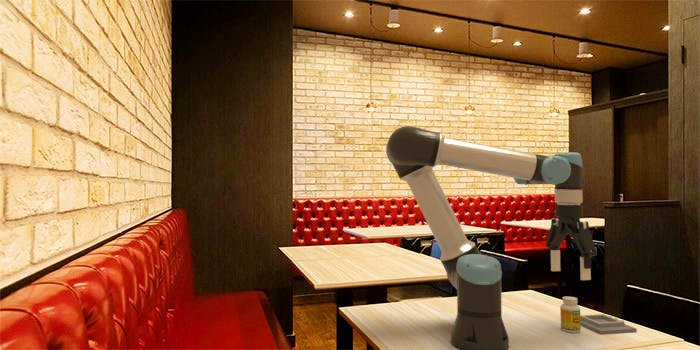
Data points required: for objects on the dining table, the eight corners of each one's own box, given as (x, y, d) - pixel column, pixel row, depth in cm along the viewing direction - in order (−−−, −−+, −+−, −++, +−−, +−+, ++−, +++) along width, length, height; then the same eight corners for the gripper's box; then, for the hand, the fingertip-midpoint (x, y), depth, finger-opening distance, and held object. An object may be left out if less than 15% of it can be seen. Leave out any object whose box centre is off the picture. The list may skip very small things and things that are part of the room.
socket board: (600, 334, 131) (600, 326, 131) (569, 320, 145) (568, 313, 145) (636, 332, 134) (636, 324, 134) (602, 318, 147) (602, 311, 147)
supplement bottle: (567, 326, 139) (566, 295, 139) (584, 331, 135) (583, 298, 135) (556, 329, 136) (556, 297, 136) (574, 334, 132) (573, 301, 132)
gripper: (610, 205, 125) (612, 283, 124) (554, 202, 149) (555, 267, 149) (586, 206, 123) (587, 284, 123) (533, 202, 148) (534, 268, 147)
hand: (569, 275), depth 136 cm, fingers open, 13 cm apart
